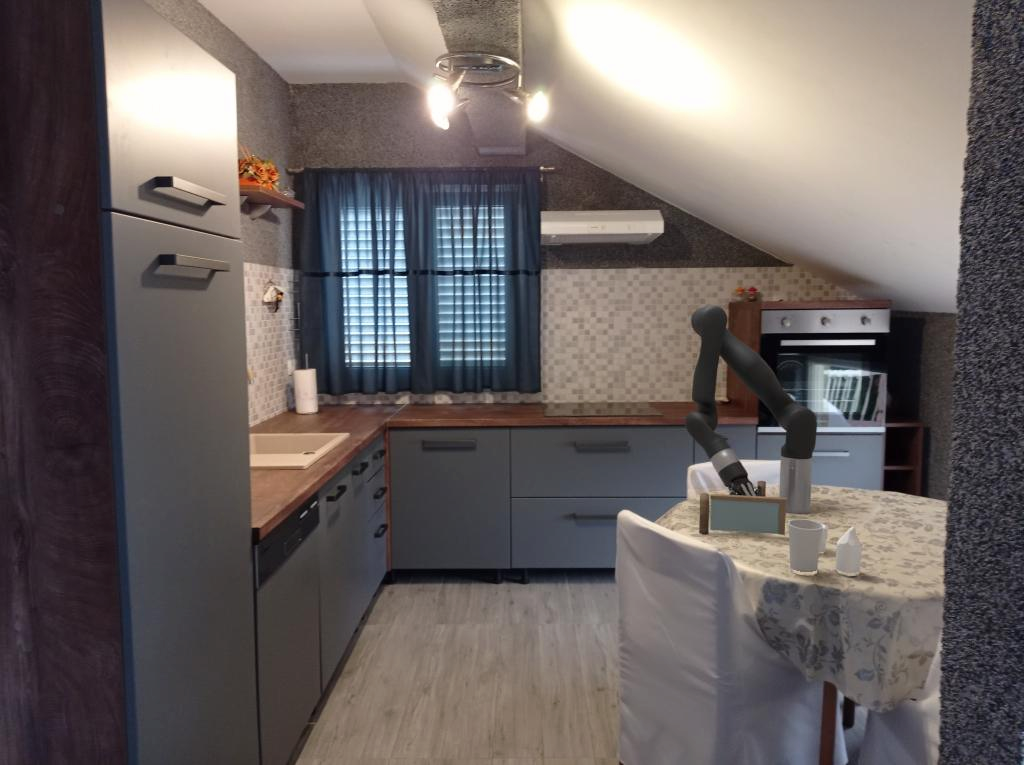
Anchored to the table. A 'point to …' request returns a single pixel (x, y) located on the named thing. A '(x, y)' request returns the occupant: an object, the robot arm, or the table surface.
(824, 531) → the shot glass
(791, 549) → the cup
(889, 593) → the table surface
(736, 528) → the gate
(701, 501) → the gate posts
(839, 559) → the white pointed prism
